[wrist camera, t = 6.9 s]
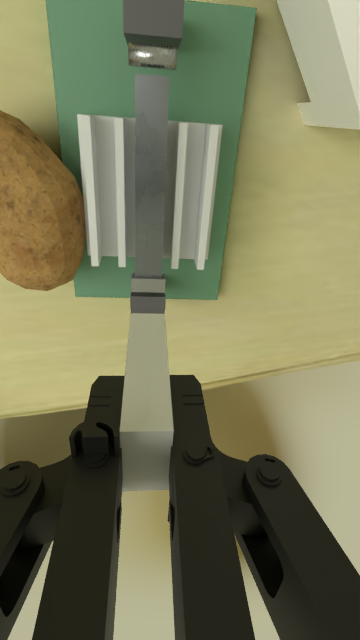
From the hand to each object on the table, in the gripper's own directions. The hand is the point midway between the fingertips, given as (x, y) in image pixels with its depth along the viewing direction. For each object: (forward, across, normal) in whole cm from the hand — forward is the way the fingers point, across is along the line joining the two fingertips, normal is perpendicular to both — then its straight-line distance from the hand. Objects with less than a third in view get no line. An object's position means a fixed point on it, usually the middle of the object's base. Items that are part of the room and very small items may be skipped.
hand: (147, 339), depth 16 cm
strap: (+15, 0, +4) cm, 15 cm away
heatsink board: (+21, 0, +4) cm, 22 cm away
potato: (+21, -10, +2) cm, 24 cm away
